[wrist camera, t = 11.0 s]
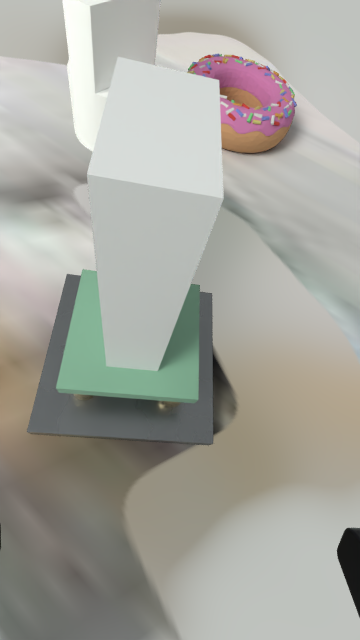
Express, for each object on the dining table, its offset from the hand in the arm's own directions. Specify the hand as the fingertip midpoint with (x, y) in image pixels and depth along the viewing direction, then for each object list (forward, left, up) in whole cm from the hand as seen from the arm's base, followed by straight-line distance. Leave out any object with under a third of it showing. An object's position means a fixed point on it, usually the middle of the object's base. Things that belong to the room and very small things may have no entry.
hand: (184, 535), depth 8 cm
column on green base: (+9, +2, -9) cm, 13 cm away
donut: (+43, -7, -14) cm, 46 cm away
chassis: (+9, +2, -13) cm, 17 cm away
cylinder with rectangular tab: (+36, +7, -14) cm, 40 cm away
